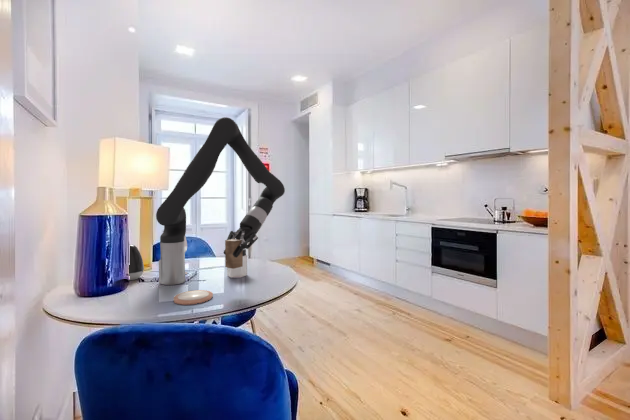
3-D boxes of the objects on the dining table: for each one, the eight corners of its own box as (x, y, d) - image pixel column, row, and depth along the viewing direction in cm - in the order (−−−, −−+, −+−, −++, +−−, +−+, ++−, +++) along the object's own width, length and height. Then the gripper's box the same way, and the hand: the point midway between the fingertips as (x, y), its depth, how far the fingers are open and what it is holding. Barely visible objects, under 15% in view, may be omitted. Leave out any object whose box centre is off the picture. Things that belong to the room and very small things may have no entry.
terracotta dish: (165, 303, 108) (165, 300, 108) (187, 292, 121) (187, 288, 121) (200, 305, 106) (200, 302, 106) (219, 293, 118) (219, 290, 118)
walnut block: (225, 267, 118) (225, 240, 118) (234, 264, 122) (234, 238, 121) (233, 268, 115) (233, 241, 115) (242, 266, 119) (242, 239, 119)
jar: (225, 274, 146) (224, 249, 146) (241, 272, 151) (241, 247, 151) (232, 279, 139) (231, 251, 139) (249, 276, 144) (249, 249, 143)
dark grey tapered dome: (112, 279, 139) (111, 245, 138) (137, 274, 147) (136, 242, 147) (124, 283, 133) (122, 247, 132) (148, 278, 141) (147, 244, 141)
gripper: (236, 213, 128) (211, 247, 118) (262, 214, 120) (237, 251, 110) (246, 225, 132) (222, 259, 123) (271, 227, 124) (248, 263, 115)
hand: (229, 255), depth 117 cm, fingers closed on walnut block, 4 cm apart
